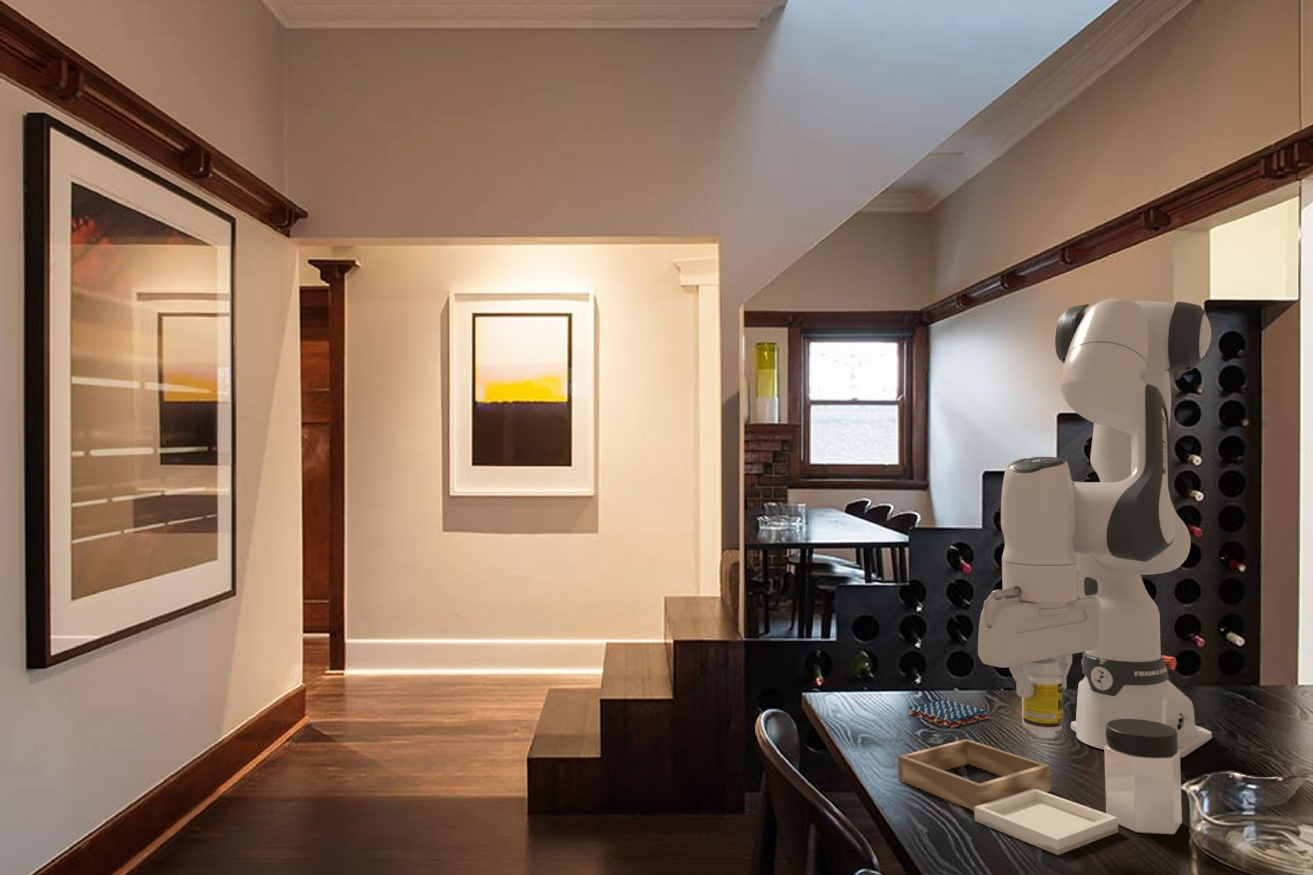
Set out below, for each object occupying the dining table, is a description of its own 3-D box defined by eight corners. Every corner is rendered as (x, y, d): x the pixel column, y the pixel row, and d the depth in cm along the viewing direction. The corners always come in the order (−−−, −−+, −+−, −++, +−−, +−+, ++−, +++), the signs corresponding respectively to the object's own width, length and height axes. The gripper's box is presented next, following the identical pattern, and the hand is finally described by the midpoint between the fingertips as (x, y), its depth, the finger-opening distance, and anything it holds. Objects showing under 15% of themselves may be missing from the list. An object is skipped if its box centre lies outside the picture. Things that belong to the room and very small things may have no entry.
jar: (1117, 803, 122) (1115, 713, 122) (1186, 818, 116) (1183, 724, 117) (1099, 824, 115) (1097, 729, 115) (1172, 841, 109) (1169, 742, 110)
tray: (1034, 801, 123) (1033, 787, 123) (1118, 831, 112) (1117, 817, 112) (974, 820, 116) (974, 806, 117) (1057, 854, 106) (1057, 839, 106)
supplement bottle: (1066, 733, 112) (1065, 665, 112) (1026, 731, 113) (1025, 664, 113) (1057, 721, 117) (1056, 656, 117) (1018, 719, 118) (1017, 655, 118)
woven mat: (953, 731, 156) (952, 719, 156) (905, 717, 165) (905, 706, 165) (991, 721, 161) (991, 709, 162) (943, 708, 170) (943, 697, 170)
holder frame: (966, 761, 139) (966, 738, 139) (1050, 790, 126) (1050, 765, 126) (898, 780, 131) (898, 756, 132) (981, 813, 119) (980, 786, 119)
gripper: (1006, 594, 107) (1009, 711, 107) (1109, 580, 118) (1112, 686, 117) (964, 588, 113) (966, 699, 112) (1065, 575, 123) (1068, 676, 123)
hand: (1041, 692), depth 115 cm, fingers closed on supplement bottle, 5 cm apart
